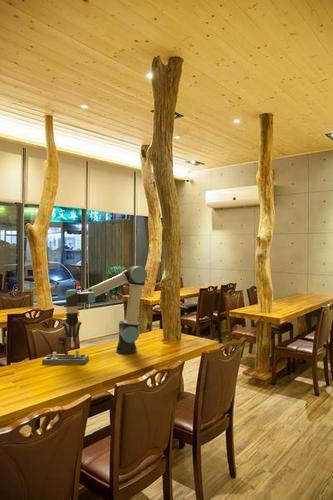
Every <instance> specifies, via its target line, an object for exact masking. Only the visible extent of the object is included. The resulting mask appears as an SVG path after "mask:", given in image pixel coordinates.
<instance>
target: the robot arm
mask: <svg viewBox="0 0 333 500" xmlns="http://www.w3.org/2000/svg"><path fill="white" fill-rule="evenodd" d="M147 278H148V271H147V270H146V268H145V267H144V266H141V265H132V266H130V267H129V268H127V269H125V270H123V271H122V272H121V273H120V274H118V275H116V276H113V277H111V278H109V279H106V280H103V281H102V282H100V283H98V284H95V285H93V286H91V287H89V288H87V289H83V290H82V291H81V292H80V291H79V292H78V289H67V290H66V291H65V308H66V309H65V310H66V313H65V314H66V315H65V317H66V319H65V321H64V322H63V323H62V326H63V328H64V333H66V336H67V337H68V338H69V340H68V341H69V342H68V343H70V348H74V347H75V343H76V339H77V337H78V336H79V333H80V330H81V325H82V323H83V322H82V321H79V318H78V317H79V316H78V315H79V314H78V304H91V303H95V302H96V297H98V296H99V295H102V294H104V293H106V292H108V291H111V290H113V289H114V288H117V287H119V286H123V285H124V284H128V285H129V294H128V299H127V306H126V314H125V320H119V322H118V342H117V346H116V347H115V348H116V353H118V354H121V355H129V354H130V355H132V354H134V353H135V354H136V352H137V349H138V348H137V346H136V341H137V340H138V339H139V337H140V331H139V328H140V323H139V321H138V319H139V312H140V305H141V298H142V291H143V290H142V289H143V288H144V287H145V286H146V285H145V284H146V280H147ZM76 326H77V327H76ZM68 331H69V332H68Z"/></svg>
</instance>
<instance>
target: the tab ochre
mask: <svg viewBox="0 0 333 500" xmlns="http://www.w3.org/2000/svg"><path fill="white" fill-rule="evenodd" d="M74 355H75V356H74V357H81V355H82V354H80V350H79V349H76V350H75V354H74Z"/></svg>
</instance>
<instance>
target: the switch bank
mask: <svg viewBox="0 0 333 500" xmlns="http://www.w3.org/2000/svg"><path fill="white" fill-rule="evenodd" d="M75 355H76V354H65V355H56V358H58V359H51V358H53V354H47V355H46V356H45V357H43V358H42V360H41V362H42V363H41V364H42V365H85V364H86V363H88V360H89V358H90V354H80V355H81V357H74V356H75Z"/></svg>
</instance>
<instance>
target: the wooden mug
mask: <svg viewBox="0 0 333 500" xmlns="http://www.w3.org/2000/svg"><path fill="white" fill-rule="evenodd" d="M68 332H69V330H68ZM68 338H69V337H67V336H66V332H64V333H63V335H62V337H57V340H56V345H55V346H56V347H55V352H56V354H65V355H68V354H69V349H68V343H69V342H68V341H69V340H68ZM67 353H68V354H67Z"/></svg>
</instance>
